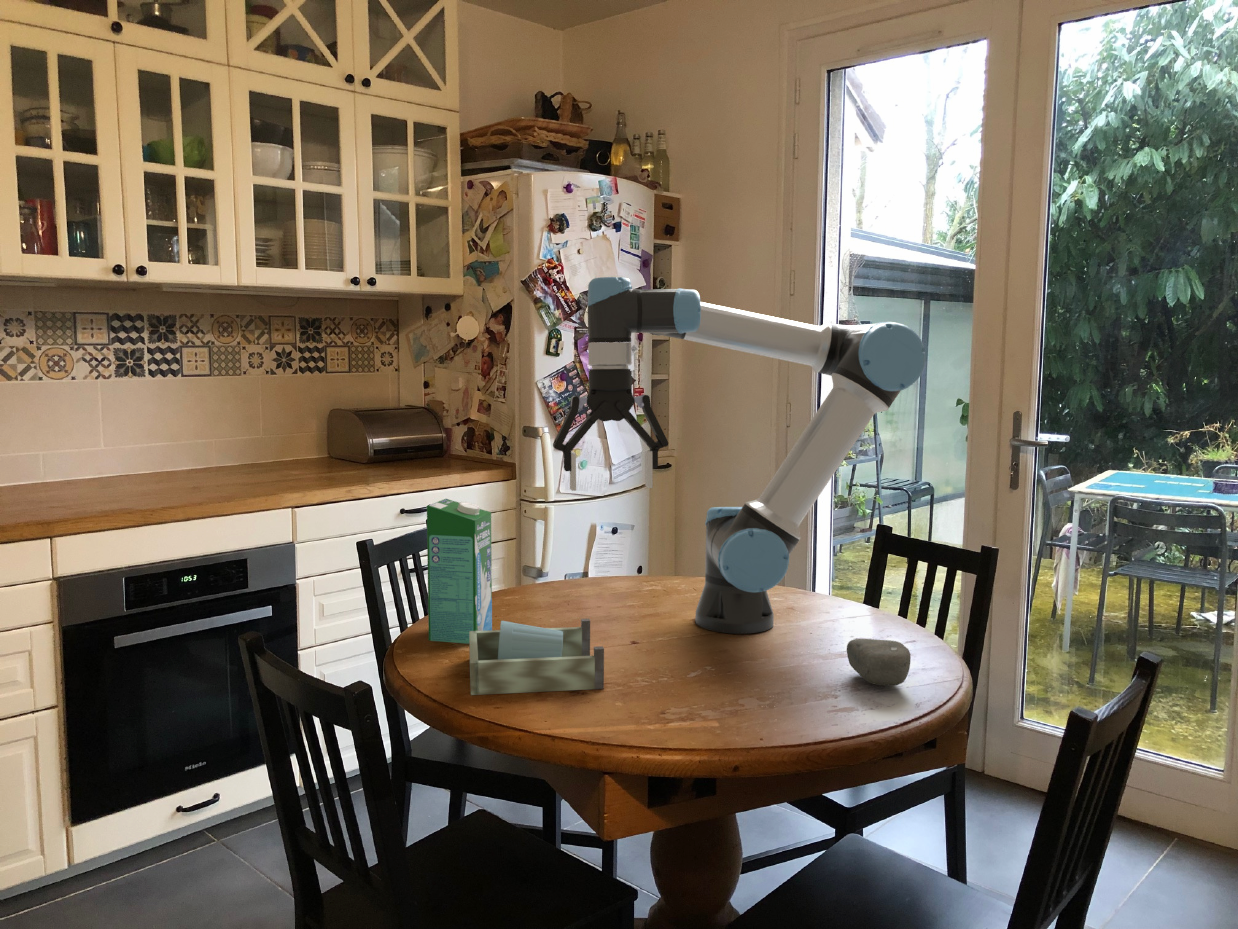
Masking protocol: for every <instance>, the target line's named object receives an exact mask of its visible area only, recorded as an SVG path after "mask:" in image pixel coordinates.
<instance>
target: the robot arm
mask: <svg viewBox="0 0 1238 929" xmlns="http://www.w3.org/2000/svg"><path fill="white" fill-rule="evenodd" d="M587 332H588V333H587V334H588V335H587V338H588V341H587V342H588V365H589V366H591V368H590V369H589V371H588V395H587V396H586V397H583V396H577V395H572V396H571V397H570V403H569V404H570V405H569V409H568V410H567V414H566V416H565V418H564V420H563V422H562V424H561V426H560V428H559V430H558V432H557V435H556V437H555V439H554V441H553V443H552V447H553V448H554V449H555V450H558V451H560V452H562V454H563V455H562V458H563V459H562V460H563V470H564V471H565V472H569V490H571V491H572V492H574V491H575V492H577V454H576V452H574V451H573V450H574V448H576V446H577V445H578V444H579V442H580V441H581V440H582V439H583V438H584V436H585V435H586V434H587V433H588V431H589V430H590V429H592V428H591V427H592V426H593V425H594V424H595V423H597V421H598V420H599V421H601V422H609V421H614V422H621V421H622V420H623V419H624V420H625V421H626V423H628V425H629V426H630V427H631V428H632V429H633V431H635V433H636V434H637V435H638V436H639V438H641V440H642V442H644V443H645V445H646V446H647V447H648V448H649V449H645V450H644V472H645V473H644V477H645V478H644V482H645V483H644V484H645V487H646V488H648V489H653V484H654V483H653V479H654V478H653V473H654V472H653V469H658V466H659V450H660V449H662V448H666V447H668V446H669V440H668V439H667V437H666V435H665V432H664V431H663V429H662V426H661V425H660V422H659V421H658V419H657V416H656V414H655V413H654V410H653V409H652V406H651V405H652V404H651V397H650V395H648V394H641V395H638V396H634V395H633V391H632V390H633V389H632V388H633V386H632V384H633V383H632V382H633V380H632V379H633V378H632V377H633V375H632V372H633V371H632V370H631V368H629V366H631V365H632V333H633V334H634V333H636V334H642V333H643V334H644V333H645V334H646V333H647V334H650V335H653V336H664V337H669V338H674V339H678V340H680V339H681V340H684V341H685V340H686V341H690V342H694V343H699V344H705V345H709V346H713V347H718V348H724V349H727V350H728V349H729V350H732V351H733V350H734V351H737V352H743V353H748V354H753V355H757V356H761V357H768V358H771V359H775V360H781V361H787V362H791V363H796V364H801V365H806V366H809V367H811V368H812V370H813V372H814V373H818V374H822V375H827V376H830V377H831V379H832V389H831V390H830V392H829V393H828V395H827V396H826V397H825V399H824V400H823V402H822V403H821V405H820V406H819V408H818V410H817V411H815V412H816V413H815V414H814V415H813V417H812V419H811V420H810V421H809V422H808V424H807V426H806V427H805V429H804V430H803V431H802V433H801V435H800V436H799V437H798V439H797V441H796V442H795V443H794V445H793V447H792V448H791V450H790V451H789V453H787V456H786V457H785V458H784V460H783V461H782V462H781V465H780V466H779V467H778V469H777V470H776V472H775V474H774V475H773V476H772V478H771V479H770V481H769V483H768V484H767V485H766V487H765V488H764V490H763V492H761V495H759V497H758V498H756V499H755V500H749V501H746V502H745V503H744V505H743V506H717V507H716V506H713V507H710V508H709V509H707V512H706V519H705V521H704V522H705V523H704V525H705V564H704V566H705V569H704V571H705V573H704V574H705V576H704V577H705V578H704V586H703V588H702V590H701V594H700V597H699V601H698V603H697V606H696V609H695V619H694V621H695V624H696V625H697V626H698V627H700V628H702V629H705V630H708V631H712V632H716V633H722V634H723V633H724V634H736V635H737V634H739V635H742V634H755V633H761V632H765V631H768V630H770V629H771V628H773V627H774V619H775V618H774V611H773V608H772V607H773V606H772V604H771V600H770V597H769V593H768V591H769V590H771V589H773V588H774V587H776V586H777V585H778V584H780V582H781V581H782V580H783V579H784V578H785V576H786V574H787V573H788V570H789V564H790V554H792V552H793V550H794V549H795V547H796V546H797V544H799V542H800V540H801V538H802V537H801V533H800V525H801V523H802V521H803V520H804V519H805V517H806V516H807V514H808V513H809V511H810V510H811V508H812V507H813V506H814V504H815V503H816V501H817V500H818V498H819V497H820V495H821V494H822V492H823V491H824V489H825V488H826V486H827V484H828V483H830V482H829V481H830V480H831V478H832V477H833V476H834V474H835V473H836V471H837V470H838V468H839V467H840V465H841V464H842V462H843V461H844V460H845V458H846V456H847V455H848V454H849V453H850V451H851V449H852V448H853V446H854V445H855V443H856V442H857V440H858V439H859V438H860V436H861V434H862V433H863V432H864V430H865V429H866V427H867V426H868V424H869V423H870V421H871V420H872V418H873V417H874V416H875V414H878V413H882V412H885V411H888V410H889V409H890V408H891V407H892V404H893V402H894V401H895V400H896V398H897V397H898V395H899V394H900V393H901V391H904V390H906V389H908V388H909V387H911V386H912V385H914V384H915V383H916V382H917V381H918V380H919V378H920V377H921V376H922V374H923V372H924V370H925V366H926V359H927V358H926V350H925V345H924V343H923V341H922V338H921V337H920V336H919V334H918V333H917V332H916V331H915V330H914V329H912V327H909V326H907V325H906V324H902V323H900V322H894V321H888V320H886V321H880V322H876V323H866V324H855V325H853V324H852V325H851V324H850V325H848V324H847V325H845V324H837V323H832V322H825V323H822V325H815V324H810V323H804V322H800V321H795V320H790V319H786V318H781V317H775V316H771V315H766V314H761V313H756V312H752V311H747V310H742V309H736V308H733V307H727V306H723V305H718V304H717V305H716V304H713V303H707V302H703V301H701V296H700V293H699V292H698V291H697V290H696V289H686V288H679V287H678V288H668V289H667V288H665V289H664V288H660V289H659V288H658V289H656V288H655V289H640V288H638V289H636V288H633V286H632V282H631V279H630V278H628V277H623V276H621V277H620V276H619V277H618V276H606V277H605V276H602V277H594V278H593V279H591V280H590V281H589V282H588V285H587ZM635 404H636V405H637V407H638V408H641V410H642V413H643V415H644V417H645V419H646V420H647V423H648V425H649V427H650V428H651V431H652V432H653V435H654V436H655V438H656V441H655V439H653V438H652V437H651V435H650V434H649V433H648V431H647V430H645V428H643V426H642V424H641V423H639V421H638V420H637V419H636V417H635V416H634V415H633V414H632V413H631V409H632V407H633V406H634V405H635ZM584 405H587V407H588V408H589V410H590V411H591V412H590V413H588V415H587V417H585V419H584V420H583V422H582V423H581V424H580V425H579V427H578V428H577V429H576V430H575V432H574V433H573V434H572V435H571V436H570V437H569V439H568V441H566V443H564V442H565V440H566V438H567V435H568V434H569V431H570V430H571V428H572V425H573V423H574V421H575V420H576V419H575V418H576V417H577V415H578V413H579V410H581V409H582V408H583V407H584Z"/></svg>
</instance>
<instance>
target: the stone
mask: <svg viewBox="0 0 1238 929" xmlns="http://www.w3.org/2000/svg"><path fill="white" fill-rule="evenodd" d="M846 655H847V656H846V657H847V659H848V663H849V665H850V667H851V668H852V669H853V671H855V672H856V673H857V674H858V675H859V676H860V677H861V678H862V679H863V680H865V681H866V682H867V683H869V684H871V685H876V686H890V687H891V686H899V685H901V684H903V683H904V682H905V681H906V679H907V676H908V674H909V671H910V667H911V652H910V650H909V648H908V647H906V646H905V645H904V644H903V643H902V642H899V641H896V640H889V639H887V640H886V639H876V638H875V639H874V638H873V639H871V638H854V639H851V640H850V641H848V643H847V644H846Z"/></svg>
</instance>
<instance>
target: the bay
mask: <svg viewBox="0 0 1238 929" xmlns="http://www.w3.org/2000/svg"><path fill="white" fill-rule="evenodd" d="M546 628H547V629H553V630H559V631H563V647H562V657H548V658H525V659H502V660H498V649H499V636H500V629H496V630H495V629H494V630H493V629H492V630H488V631H469V644H468V646H469V680H470V681H469V686H470V695H471V696H479V695H498V694H499V695H500V694H504V695H505V694H519V693H520V694H521V693H541V692H560V691H561V692H562V691H583V690H586V691H587V690H604V689H605V648H604V646H593V655H591V619H590V618H581V619H580V626H572V627H571V626H570V627H569V626H568V627H546Z"/></svg>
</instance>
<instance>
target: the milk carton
mask: <svg viewBox="0 0 1238 929" xmlns="http://www.w3.org/2000/svg"><path fill="white" fill-rule="evenodd" d="M426 538H427V539H426V543H427V548H426V549H427V550H426V551H427V552H426V553H427V608H428V610H427V612H428V622H427V623H428V641H430V642H441V643H442V642H444V643H455V644H456V643H458V644H466V645H467V644H468V645H469V631H488V630H493V599H492V598H493V597H492V596H493V595H492V594H493V593H492V592H493V590H492V589H493V585H492V584H493V581H492V580H493V575H492V573H493V572H492V570H493V568H492V564H493V563H492V560H493V559H492V555H493V554H492V512H491V511H488V510H484V509H481V507H480V506H479V505H478V504H475V503H472V502H467V501H460V502H459V501H455V500H452V499H449V498H444V499H441V500H439V501H436V502H433V503H431V504H429V505H427V506H426Z"/></svg>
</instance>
